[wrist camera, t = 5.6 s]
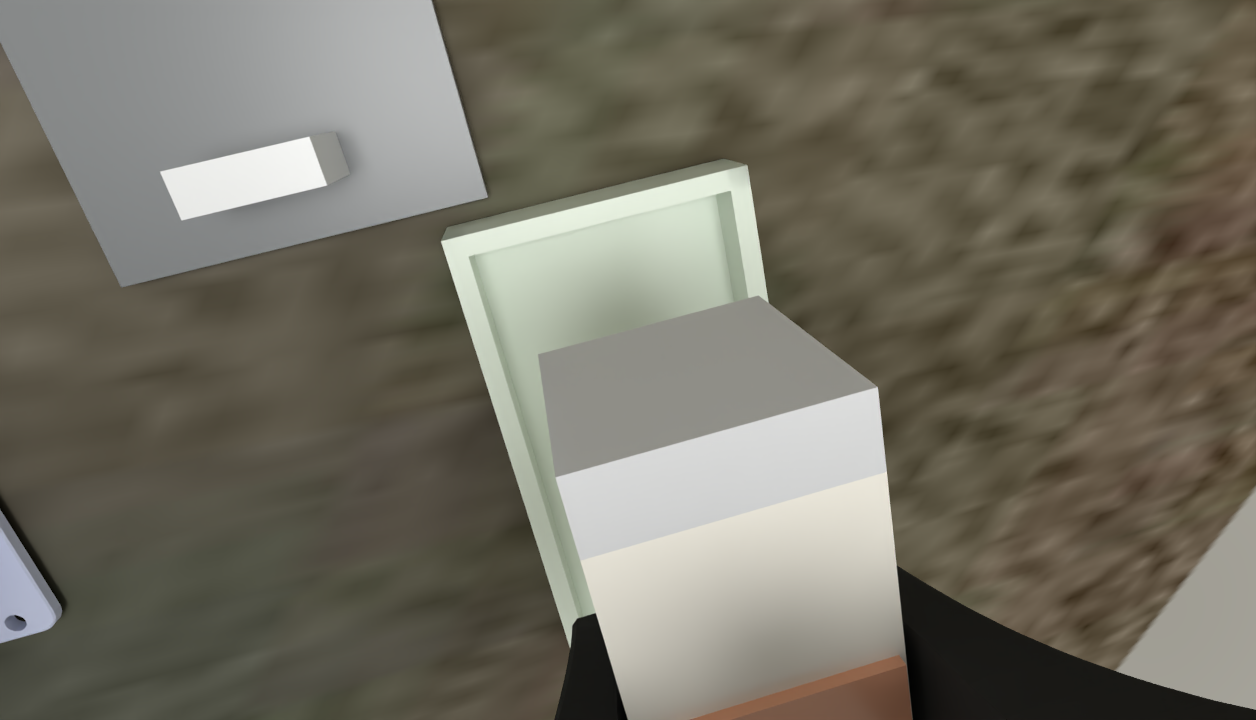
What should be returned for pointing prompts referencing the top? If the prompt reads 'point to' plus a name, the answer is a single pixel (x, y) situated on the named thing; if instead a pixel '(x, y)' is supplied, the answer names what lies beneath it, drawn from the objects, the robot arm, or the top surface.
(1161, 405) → the top surface
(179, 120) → the board
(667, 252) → the tray
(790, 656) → the fuse
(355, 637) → the top surface
